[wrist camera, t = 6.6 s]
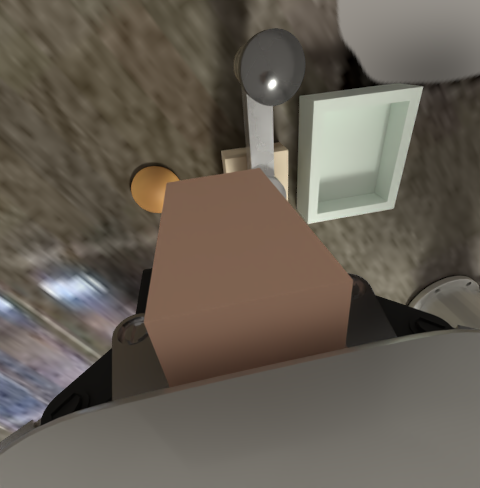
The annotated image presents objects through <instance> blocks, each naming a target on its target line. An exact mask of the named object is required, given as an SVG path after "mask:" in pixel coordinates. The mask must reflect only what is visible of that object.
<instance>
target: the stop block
mask: <svg viewBox="0 0 480 488" xmlns="http://www.w3.org/2000/svg"><path fill="white" fill-rule="evenodd" d="M352 286H353V279H352V278H351V277H350V276H349V275H348V273H347V272H346V271H345V270H344V269H343V267H342V266H341V265H340V264H339V263H338V261H337V260H336V259H335V258H334V257H333V255H332V254H331V253H330V252H329V250H328V249H327V248H326V247H325V246H324V244H323V243H322V242H321V241H320V240H319V238H318V237H317V236H316V235H315V234H314V232H313V231H312V230H311V229H310V228H309V226H308V225H307V224H306V223H305V222H304V220H303V219H302V218H301V217H300V216H299V214H298V213H297V212H296V211H295V210H294V208H293V207H292V206H291V205H290V204H289V202H288V201H287V200H286V199H285V198H284V196H283V195H282V194H281V193H280V192H279V190H278V189H277V188H276V187H275V186H274V184H273V183H272V182H271V181H270V180H269V178H268V177H267V176H266V175H265V174H264V172H263V171H262V170H261V169H260V168H256V169H249V170H243V171H237V172H231V173H225V174H218V175H212V176H206V177H200V178H193V179H187V180H181V181H175V182H169V183H167V184H166V190H165V196H164V202H163V208H162V214H161V220H160V226H159V232H158V238H157V245H156V251H155V257H154V263H153V269H152V275H151V281H150V287H149V293H148V299H147V305H146V311H145V317H144V324H145V327H146V329H147V332H148V334H149V337H150V339H151V342H152V344H153V347H154V349H155V352H156V354H157V357H158V359H159V362H160V364H161V367H162V369H163V372H164V374H165V377H166V379H167V382H168V384H169V387H174V386H178V385H182V384H187V383H191V382H196V381H200V380H204V379H209V378H213V377H217V376H222V375H226V374H231V373H235V372H240V371H244V370H249V369H253V368H258V367H262V366H267V365H271V364H276V363H280V362H285V361H289V360H294V359H298V358H303V357H307V356H312V355H316V354H321V353H326V352H330V351H335V350H339V349H344V348H345V344H346V336H347V328H348V319H349V311H350V303H351V294H352Z"/></svg>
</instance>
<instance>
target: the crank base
mask: <svg viewBox="0 0 480 488" xmlns="http://www.w3.org/2000/svg"><path fill="white" fill-rule="evenodd" d="M221 155H222V163H223V171H224V174H225V173H231V172H237V171H243V170H248V168H247V155H246V147H244V148H237V149H230V150H223V151H221ZM274 175H275V176H276V177H277V179H278V180H279V181H280V182H281V184H282V185H283V186H284V188H285V190H286V200H287V201H288V149H286V148H285V147H284V146H283V145H282V144H281V143H280V142H278V143H274ZM175 181H180V180H179V179H178V177H177V176H176V175H175V174H174V173H173V172H172V171H170V170H169V169H167V168H164V167H160V166H150V167H146V168H144V169H142V170H140V171H139V172H138V173H137V174H136V175H135V177H134V178H133V181H132V185H131V192H132V196H133V198H134V200H135V201H136V203H137V204H138V205H139V206H140V207H142V208H143V209H145V210H147V211H150V212H153V213H162V208H163V202H164V196H165V190H166V184H167V183H169V182H175Z"/></svg>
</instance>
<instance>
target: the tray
mask: <svg viewBox="0 0 480 488" xmlns="http://www.w3.org/2000/svg"><path fill="white" fill-rule="evenodd" d="M422 90H423V86H416V85H409V84H401V83H394V84H387V85H379V86H371V87H364V88H356V89H348V90H341V91H333V92H325V93H318V94H310V95H302V96H299V135H298V174H297V210H298V212H299V213H300V214H301V216H302V217H303V218H304V220H305V221H306V222H307V224H309V223H315V222H321V221H326V220H332V219H338V218H343V217H349V216H355V215H360V214H366V213H372V212H377V211H383V210H389V209H394V206H395V201H396V197H397V193H398V189H399V185H400V181H401V177H402V173H403V168H404V164H405V160H406V156H407V152H408V148H409V144H410V140H411V135H412V131H413V127H414V123H415V119H416V115H417V111H418V107H419V102H420V98H421V94H422Z"/></svg>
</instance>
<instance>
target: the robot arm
mask: <svg viewBox="0 0 480 488" xmlns="http://www.w3.org/2000/svg"><path fill="white" fill-rule="evenodd" d="M152 269H153V268H151V269H146V270H144V271H143V274H142V280H141V286H140V292H139V298H138V304H137V310H136V314H135V315H132V316H130V317H128V318H126V319H125V320H123V321H122V322H121V323H120V324H119V325H118V326H117V327H116V329H115V330H114V332H113V336H112V348H111V349H110V350H109V351H108V352H107V353H106V354H105V355H103V356H102V357H101V358H100V359H99V360H98V361H96V362H95V363H94V364H93V365H92V366H91V367H90V368H88V369H87V370H86V371H85V372H84V373H83V374H81V375H80V376H79V377H78V378H77V379H76V380H75V381H73V382H72V383H71V384H70V385H69V386H68V387H67V388H65V389H64V390H63V391H62V392H61V393H60V394H58V395H57V396H56V397H55V398H54V399H53V400H52V401H51V402H50V403H49V405H48V406H47V408H46V409H45V411H44V413H43V416H42V418H41V419H40V420H38V421H37V422H34V421H33V420H31V421H30V422H28V423H27V424H26V425H24V426H23V427H21V428H20V429H18V430H17V431H16V432H14V433H13V434H11V435H10V436H8V437H7V438H5V439H4V440H3V441H1V442H0V488H480V293H479V292H480V289H479V285H478V284H477V283H476V282H475V281H474V280H472V279H471V278H469V277H467V276H452V277H448V278H445V279H442V280H439V281H437V282H435V283H433V284H431V285H430V286H428V287H427V288H425V289H424V290H423V291H421V292H420V293H419V294H418V295H417V296H416V297H415V298H414V299H413V300H412V301H411V303H410V304H409V306H406V305H403V304H400V303H397V302H394V301H391V300H388V299H385V298H382V297H379V296H376V295H375V294H374V292H373V290H372V288H371V286H370V284H369V283H368V282H367V281H366V280H365V279H363V278H362V277H360V276H358V275H355V274H350V273H348V275H349V276H350V277H351V278H352V279H353V286H352V294H351V303H350V311H349V319H348V328H347V336H346V344H345V348H344V349H339V350H335V351H330V352H326V353H321V354H316V355H312V356H307V357H303V358H298V359H294V360H289V361H285V362H280V363H276V364H271V365H267V366H262V367H258V368H253V369H249V370H244V371H240V372H235V373H231V374H226V375H222V376H217V377H213V378H209V379H204V380H200V381H196V382H191V383H187V384H182V385H178V386H174V387H169V384H168V382H167V379H166V377H165V374H164V372H163V369H162V367H161V364H160V362H159V359H158V357H157V354H156V352H155V349H154V347H153V344H152V342H151V339H150V337H149V334H148V332H147V329H146V327H145V324H144V317H145V311H146V305H147V299H148V293H149V287H150V281H151V275H152Z"/></svg>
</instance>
